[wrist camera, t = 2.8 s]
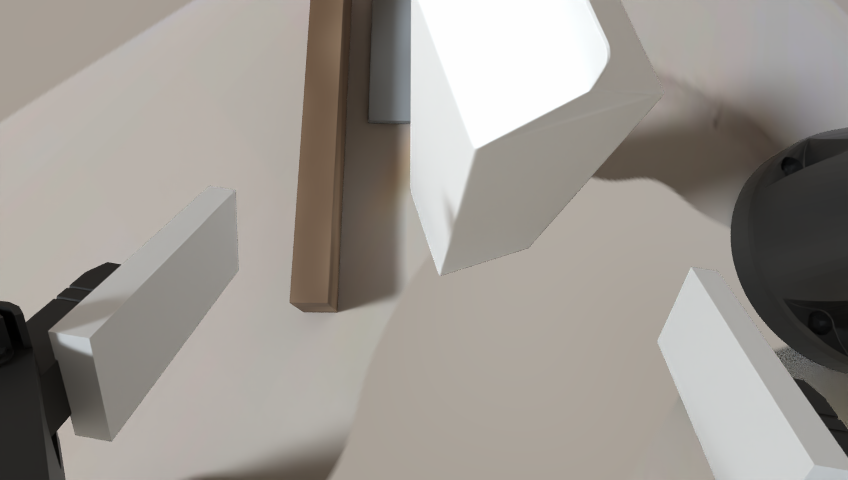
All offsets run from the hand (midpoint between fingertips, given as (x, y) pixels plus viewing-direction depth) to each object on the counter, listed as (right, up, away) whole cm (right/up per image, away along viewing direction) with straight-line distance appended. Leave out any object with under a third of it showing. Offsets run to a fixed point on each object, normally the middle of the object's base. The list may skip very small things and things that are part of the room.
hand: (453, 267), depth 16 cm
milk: (+2, +2, +19) cm, 19 cm away
